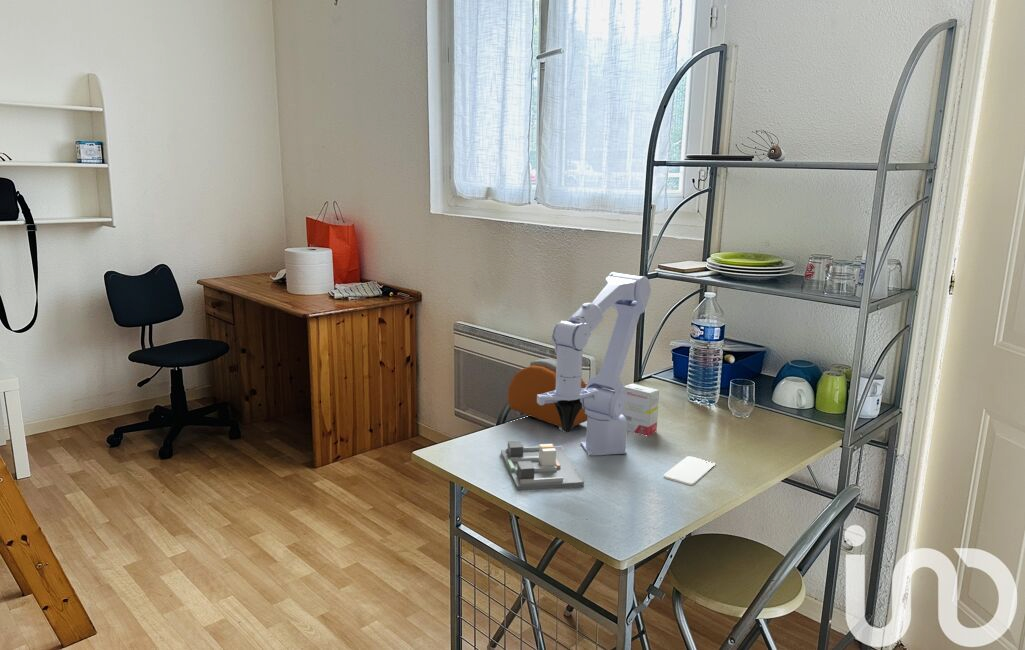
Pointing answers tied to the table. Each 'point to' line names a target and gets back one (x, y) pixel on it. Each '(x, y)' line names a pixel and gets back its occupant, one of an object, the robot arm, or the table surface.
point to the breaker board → (539, 469)
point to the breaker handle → (547, 455)
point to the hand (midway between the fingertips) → (566, 430)
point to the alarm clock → (538, 392)
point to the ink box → (641, 409)
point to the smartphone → (689, 470)
